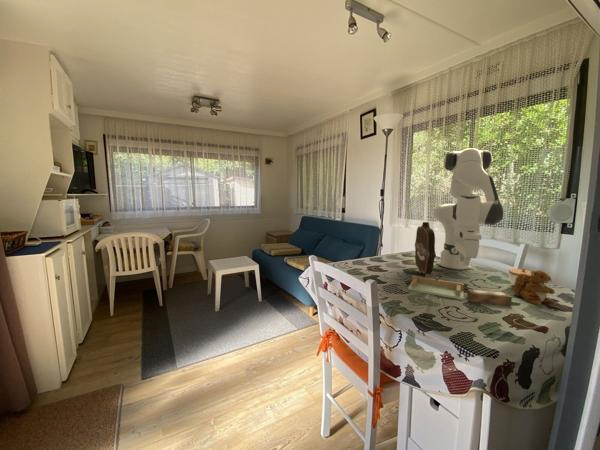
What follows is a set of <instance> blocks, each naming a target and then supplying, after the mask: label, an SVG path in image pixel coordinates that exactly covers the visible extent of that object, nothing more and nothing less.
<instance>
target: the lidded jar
mask: <svg viewBox="0 0 600 450" xmlns="http://www.w3.org/2000/svg"><path fill="white" fill-rule="evenodd" d="M530 271H531V270H527V269H526V268H522V269H521V268H511V269H508V279H509V282H510V283H511V285H512V286H514V284H515V282H516V278H517V276H518V275H520V274H527V275H529V276H531V272H530Z"/></svg>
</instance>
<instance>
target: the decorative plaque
mask: <svg viewBox="0 0 600 450" xmlns="http://www.w3.org/2000/svg"><path fill="white" fill-rule="evenodd" d="M415 235H416V237H415V243H414V249H415V251H414V261H415V262H414V263H415V265H416V267H417V268H418V269H417V270H418V271H419V272H418V273H419V276H420V275H422V276H421V277H426V275H432V273H433V271H434V263H435V259H436V256H437V255H436V246H435V245H436V237H435V236H436V235H435V231H434V230H433V229H432V228H431V227H430V223H429V221H428V222H427V221H426V222H425V221H423V222H422V224H421V226H417V228H416V233H415Z"/></svg>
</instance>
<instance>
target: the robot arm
mask: <svg viewBox="0 0 600 450" xmlns="http://www.w3.org/2000/svg"><path fill="white" fill-rule="evenodd" d="M492 162H493V154H492V152H491V151H490V150H487V149H486V150H484V149H482V150H479V149H477V148H474V147H473V148H470V147H469V148H465V149H463V150H460V151H459V150H458V151H455V150H454V151H453V150H452V151H450V152H447V153H446V154H445V156H444V158H443V166H444V169H445V170H446V171H450V172H452V171H453V173H452V175H451V181H450V182H451V183H450V191H449V193H450V196H451V197H453V198H454V199H456V200H457V202H456V203H443V204H438V205H437V206H436V207H435V208H434V212H433V215H434V218H435V219H436V220H437V221H438V222H439V223H441V225H442V227H443V228H444V234H445V235H444V236H445V239H444V243H443V250H442V251H440V255H439V256H440V257H439V261H436V263H435V264H436V265H439V266H441V267H443V268H447V269H454V270H469V269H470V270H471V269H473V268H472V265H470V262H471V260H472V259H477V257H478V254H479V249H480V241H481V240H482V236H483V235H482V233H481V232H480V227H481V225H480V224H483V225H490V226H494V225H496V224H498V223H500V222H501V221H502V220H503V218H504V214H505V212H504V208H503V206H502V202H501V201H500V198H499V194H498V191H497V188H496V184H495V181H494V179H493V177H492V175H491V174H490V173H487V172H486V171H485V170H488V169H489V168H490V166H491V165H492ZM473 188H475V189H479V190H481V191H482V192H483V193H484V196H485V200H486V201H482V199H481V196H480V195H478V194H474V193H473Z"/></svg>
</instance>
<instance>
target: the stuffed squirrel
mask: <svg viewBox="0 0 600 450" xmlns="http://www.w3.org/2000/svg"><path fill="white" fill-rule="evenodd" d="M529 271H530V272H531V276H529V275H527V274H520V275H518V276H517V278H516V282H515V284H514V285H513V288H512V289H511V290H512V292H513V294H515V295H516V296H517V297H521V298H523V299H524V301H526V302H527V303H530V304H532V305H535V306H541V305H542V302H544V303H552V302H553V299H552V298H550V297H547V294H550V295H553V294H555V289H553V288H552V287H549V286H547V284H549V283H551V282H552V278H551V276H550V275H549V274H548V273H547V272H545V271H543V270H529Z"/></svg>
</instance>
